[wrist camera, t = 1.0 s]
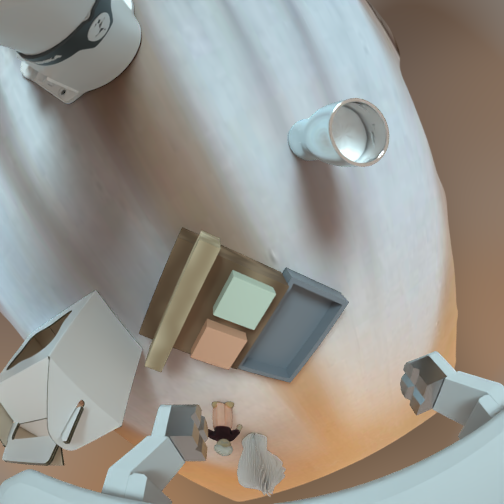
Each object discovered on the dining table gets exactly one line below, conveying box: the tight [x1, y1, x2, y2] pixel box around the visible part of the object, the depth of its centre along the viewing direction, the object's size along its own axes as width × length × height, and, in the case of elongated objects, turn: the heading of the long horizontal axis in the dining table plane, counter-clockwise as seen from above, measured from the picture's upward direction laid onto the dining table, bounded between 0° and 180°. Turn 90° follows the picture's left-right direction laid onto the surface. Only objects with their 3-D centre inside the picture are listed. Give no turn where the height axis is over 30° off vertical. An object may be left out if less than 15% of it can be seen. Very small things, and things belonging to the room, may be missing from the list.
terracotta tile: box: [191, 319, 247, 370], centre depth 38 cm, size 6×6×2 cm
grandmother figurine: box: [208, 402, 242, 456], centre depth 44 cm, size 8×4×13 cm, turn 94°
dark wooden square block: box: [139, 227, 289, 369], centre depth 39 cm, size 16×16×5 cm
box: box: [238, 268, 349, 382], centre depth 44 cm, size 11×18×4 cm, turn 152°
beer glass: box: [288, 98, 389, 167], centre depth 29 cm, size 7×7×15 cm
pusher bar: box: [145, 230, 221, 372], centre depth 34 cm, size 2×20×4 cm, turn 152°
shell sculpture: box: [237, 433, 286, 497], centre depth 47 cm, size 8×8×18 cm
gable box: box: [0, 291, 142, 466], centre depth 29 cm, size 22×13×28 cm, turn 117°
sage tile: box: [213, 270, 276, 330], centre depth 36 cm, size 6×6×2 cm
